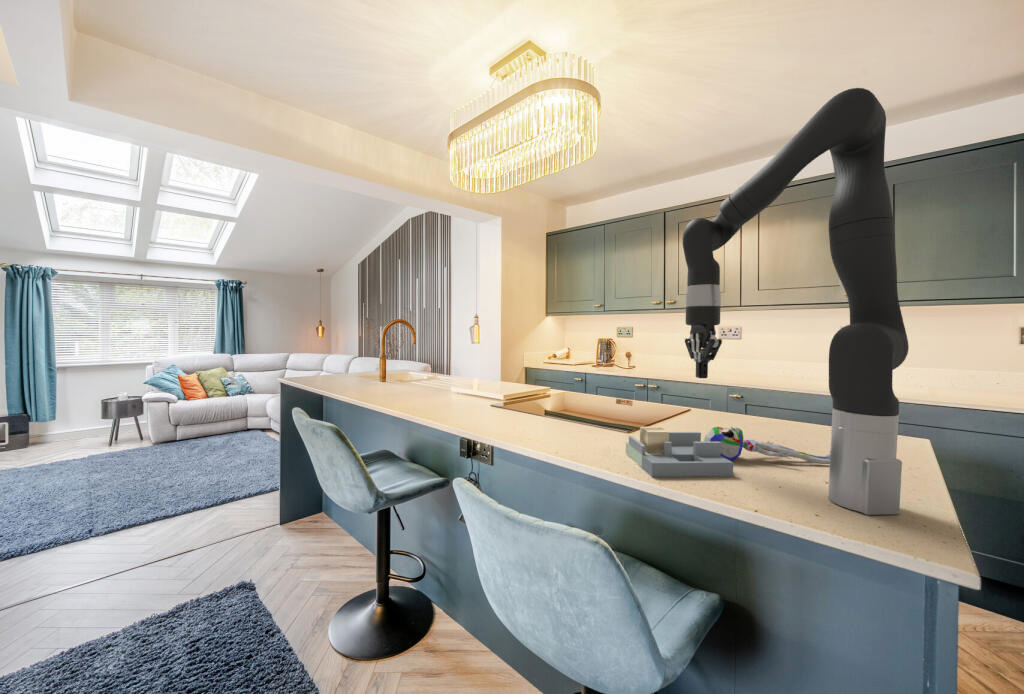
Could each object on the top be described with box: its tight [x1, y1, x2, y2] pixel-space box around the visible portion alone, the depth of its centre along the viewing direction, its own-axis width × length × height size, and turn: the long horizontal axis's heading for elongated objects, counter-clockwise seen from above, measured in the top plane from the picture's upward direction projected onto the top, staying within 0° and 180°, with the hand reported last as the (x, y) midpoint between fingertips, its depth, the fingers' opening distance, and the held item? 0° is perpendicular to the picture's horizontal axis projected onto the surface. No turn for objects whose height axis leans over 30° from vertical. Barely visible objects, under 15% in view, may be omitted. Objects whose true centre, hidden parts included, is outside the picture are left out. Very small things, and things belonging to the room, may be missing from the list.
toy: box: [703, 426, 830, 465], centre depth 102 cm, size 10×8×30 cm
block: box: [639, 426, 670, 453], centre depth 100 cm, size 5×5×5 cm
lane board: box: [625, 431, 734, 478], centre depth 99 cm, size 17×18×6 cm
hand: (701, 377), depth 100 cm, fingers closed
